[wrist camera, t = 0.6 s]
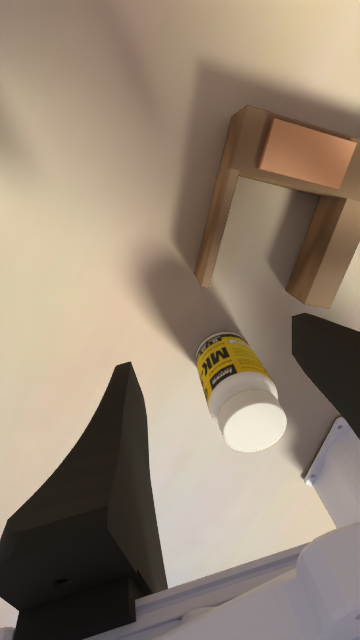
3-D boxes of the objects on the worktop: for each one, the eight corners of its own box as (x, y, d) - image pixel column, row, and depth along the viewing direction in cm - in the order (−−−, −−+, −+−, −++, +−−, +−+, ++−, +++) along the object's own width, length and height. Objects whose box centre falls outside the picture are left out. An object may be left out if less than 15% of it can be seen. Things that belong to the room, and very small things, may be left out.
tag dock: (387, 308, 25) (420, 326, 22) (194, 273, 22) (202, 288, 19) (453, 181, 21) (505, 181, 18) (231, 116, 18) (249, 103, 15)
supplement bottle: (212, 321, 24) (245, 385, 16) (259, 342, 25) (310, 411, 18) (184, 367, 25) (202, 446, 18) (230, 385, 27) (265, 465, 19)
